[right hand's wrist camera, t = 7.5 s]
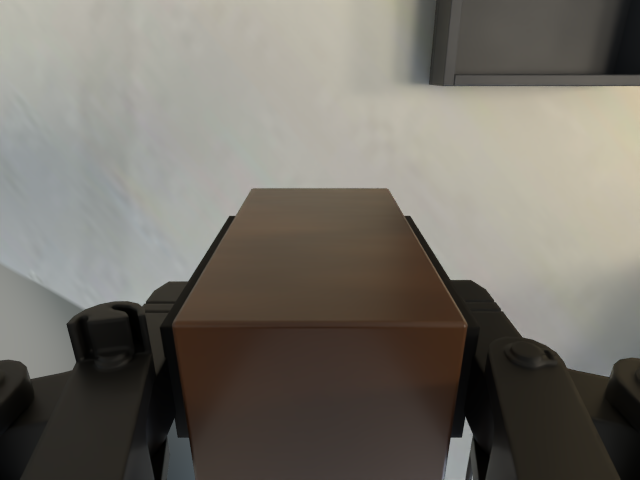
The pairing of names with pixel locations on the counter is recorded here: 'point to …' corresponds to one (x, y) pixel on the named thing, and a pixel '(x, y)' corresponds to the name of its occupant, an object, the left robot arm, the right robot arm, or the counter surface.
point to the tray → (536, 43)
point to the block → (319, 344)
